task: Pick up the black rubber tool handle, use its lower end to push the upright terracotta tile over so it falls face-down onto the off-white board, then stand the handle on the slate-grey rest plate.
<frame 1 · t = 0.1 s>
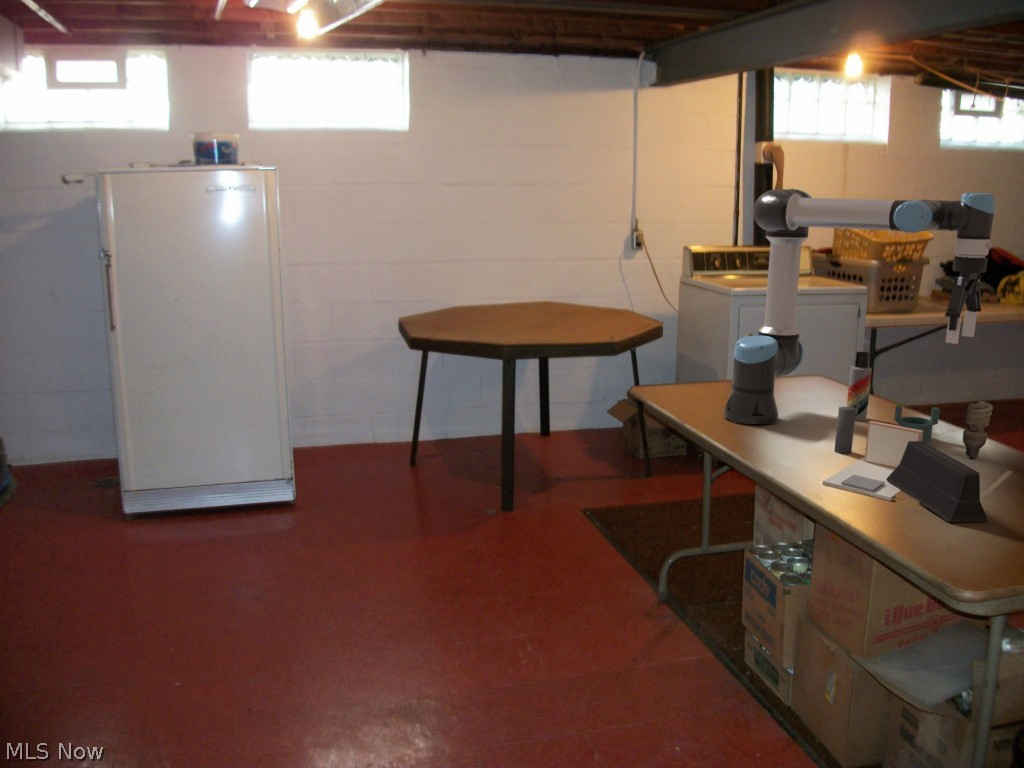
hand: (959, 339, 221), 28 cm above the table, tool pointing down, fingers open, 13 cm apart
tile: (890, 466, 206), point 1 cm above the table, touching board
light bulb: (972, 460, 215), on the table
tool handle: (842, 454, 217), on the table
bracket: (913, 439, 232), on the table
barrier: (933, 500, 186), on the table, touching board
lotion bottle: (855, 419, 251), on the table
board: (877, 478, 200), on the table
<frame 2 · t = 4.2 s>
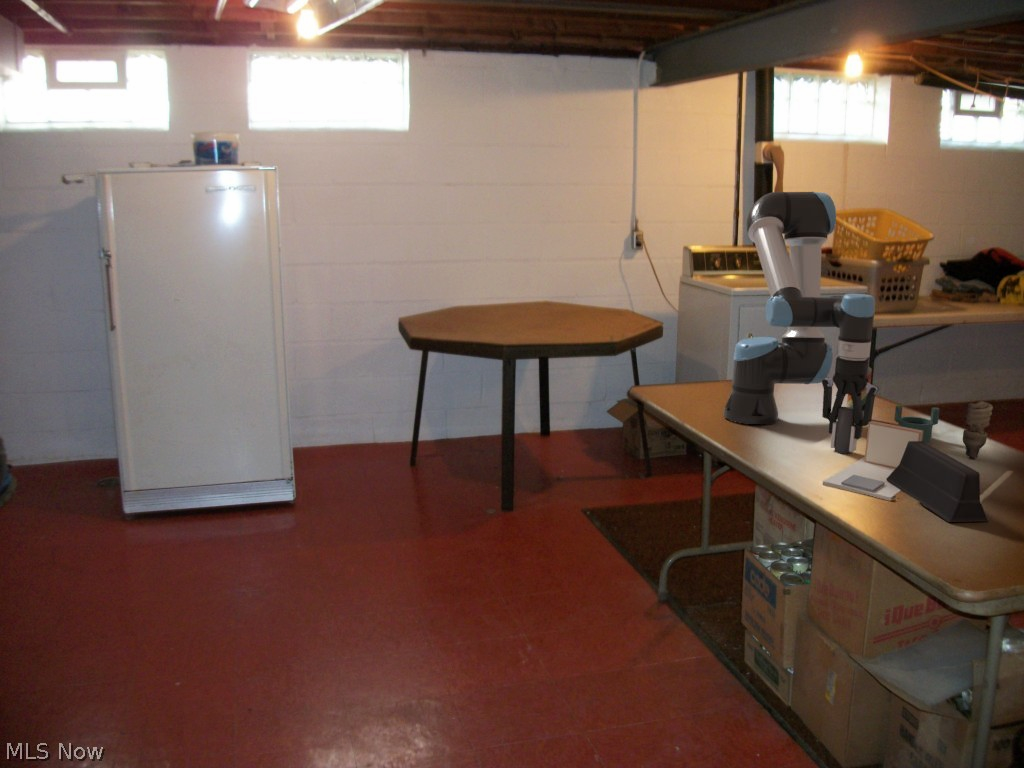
hand: (843, 448, 217), 2 cm above the table, tool pointing down, fingers closed on tool handle, 4 cm apart
tool handle: (842, 454, 217), on the table, touching gripper
everything else where it was.
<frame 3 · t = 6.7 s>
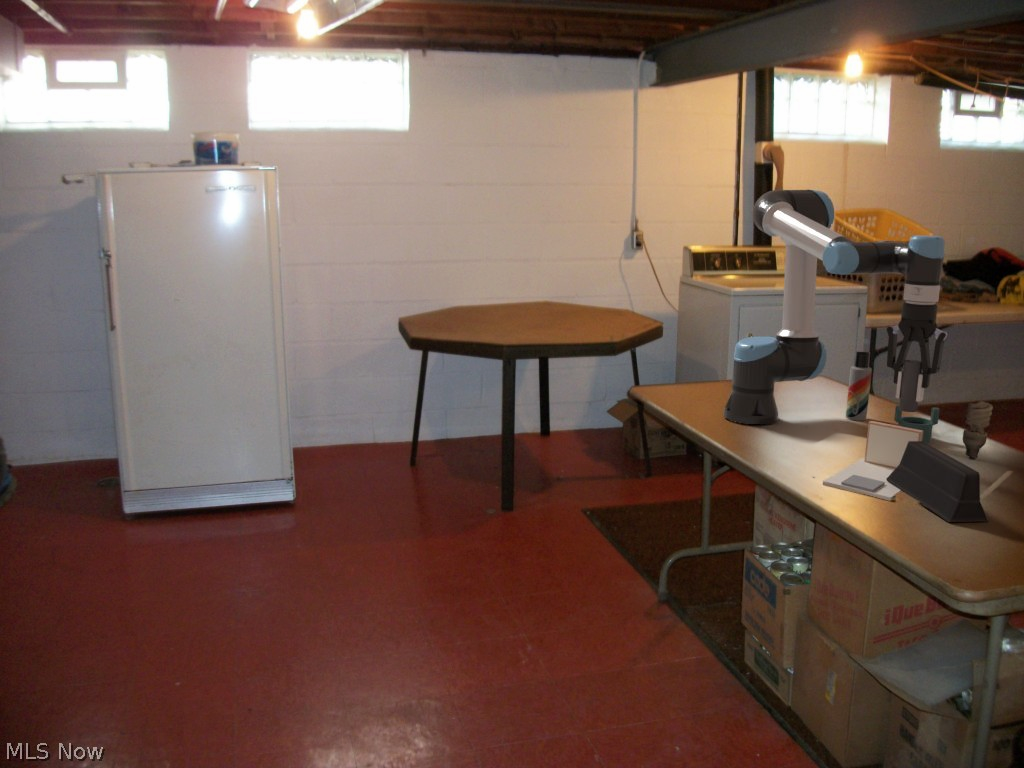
hand: (909, 398, 208), 16 cm above the table, tool pointing down, fingers closed on tool handle, 4 cm apart
tool handle: (907, 410, 208), point 13 cm above the table, touching gripper
everything else where it was.
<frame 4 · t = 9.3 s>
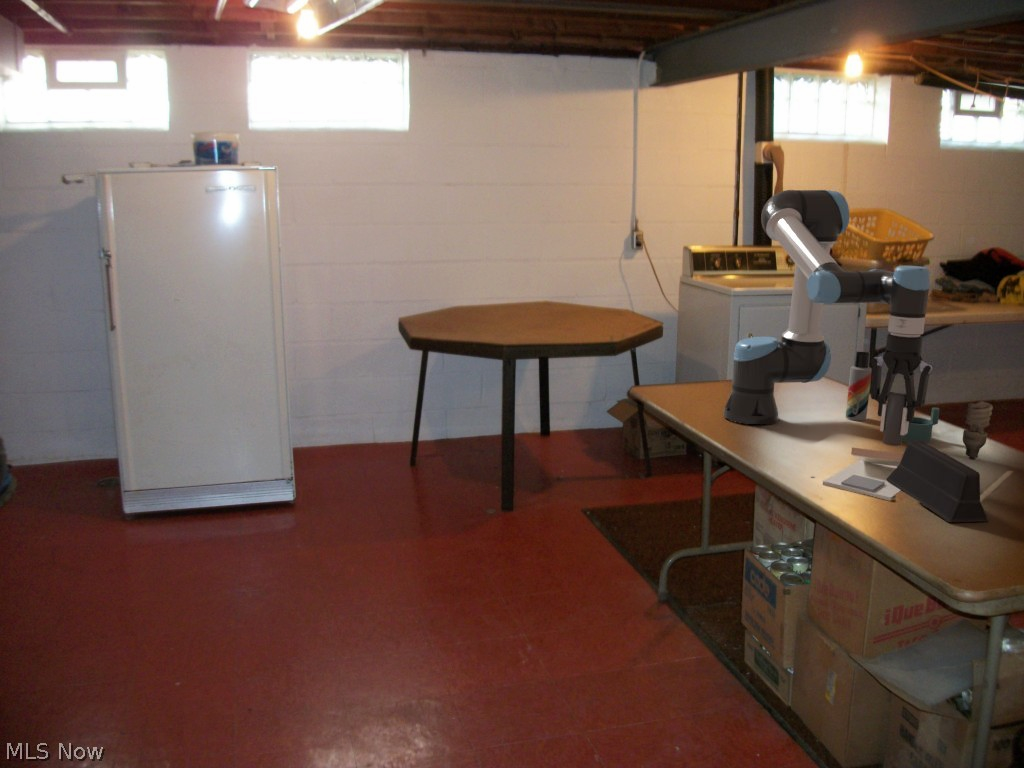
hand: (893, 431, 203), 10 cm above the table, tool pointing down, fingers closed on tool handle, 4 cm apart
tile: (890, 462, 206), point 2 cm above the table, tilted 66°, touching board
tool handle: (892, 443, 204), point 7 cm above the table, touching gripper
everything else where it was.
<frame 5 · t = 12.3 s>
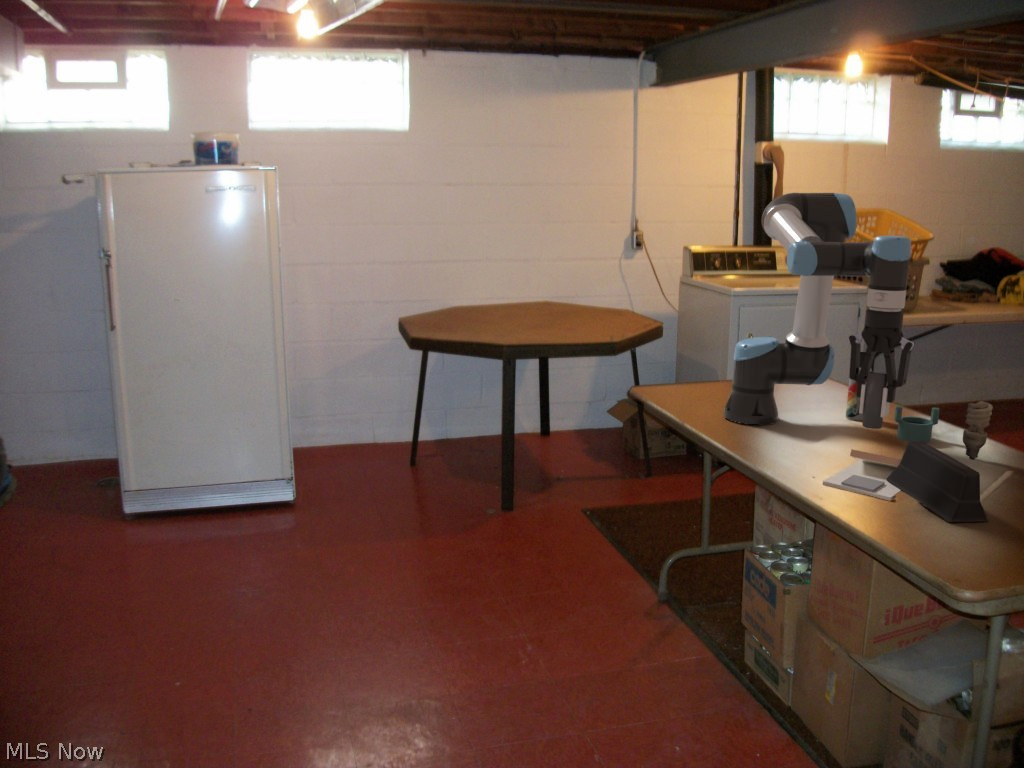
hand: (873, 414, 191), 17 cm above the table, tool pointing down, fingers closed on tool handle, 4 cm apart
tile: (888, 463, 206), point 2 cm above the table, tilted 69°, touching board, barrier
tool handle: (872, 426, 191), point 14 cm above the table, touching gripper
barrier: (934, 500, 186), on the table, touching board, tile
everything else where it was.
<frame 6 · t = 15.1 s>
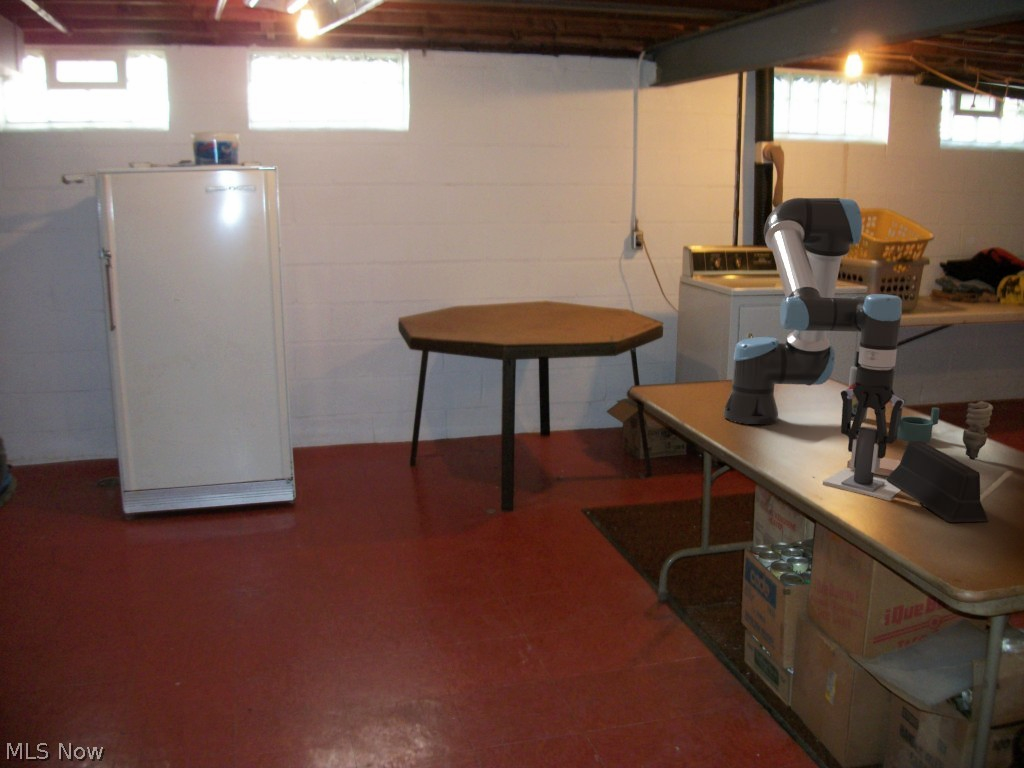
hand: (864, 468, 193), 5 cm above the table, tool pointing down, fingers closed on tool handle, 4 cm apart
tile: (887, 461, 207), point 2 cm above the table, tilted 87°, touching board, barrier
tool handle: (863, 480, 193), point 2 cm above the table, touching gripper
everything else where it was.
when the fingers open (5 cm above the table, at t = 15.3 s): tool handle stays where it is, resting on board.
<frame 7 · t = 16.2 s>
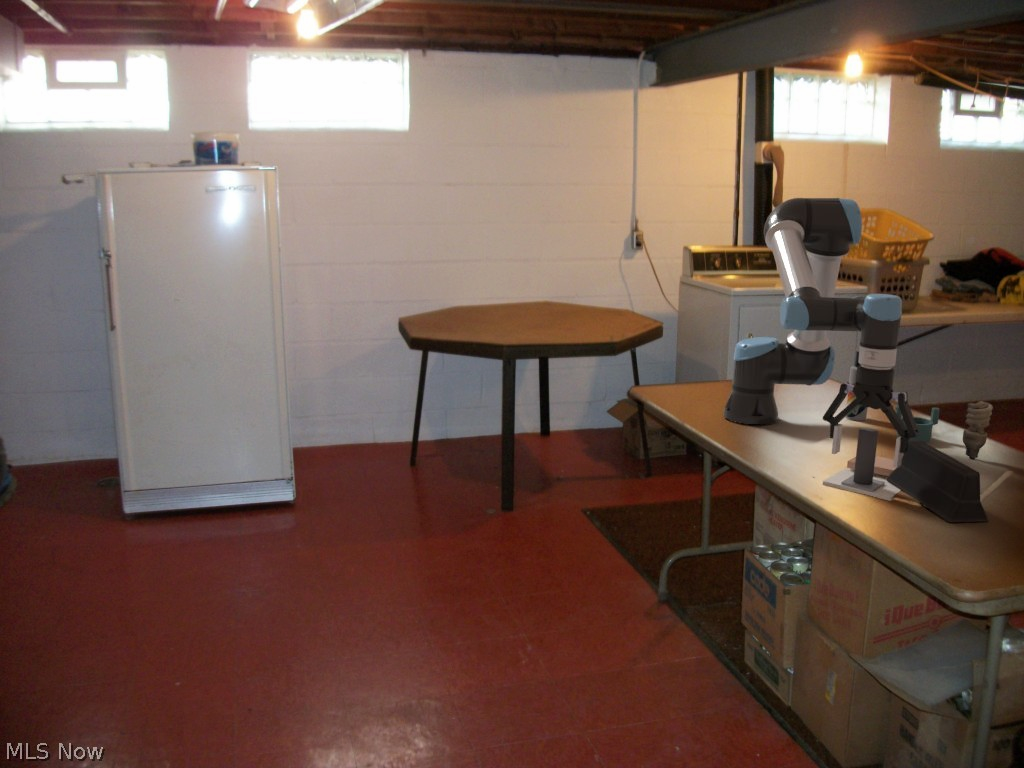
hand: (865, 459, 192), 7 cm above the table, tool pointing down, fingers open, 13 cm apart
tool handle: (862, 481, 194), point 1 cm above the table, touching board
everything else where it was.
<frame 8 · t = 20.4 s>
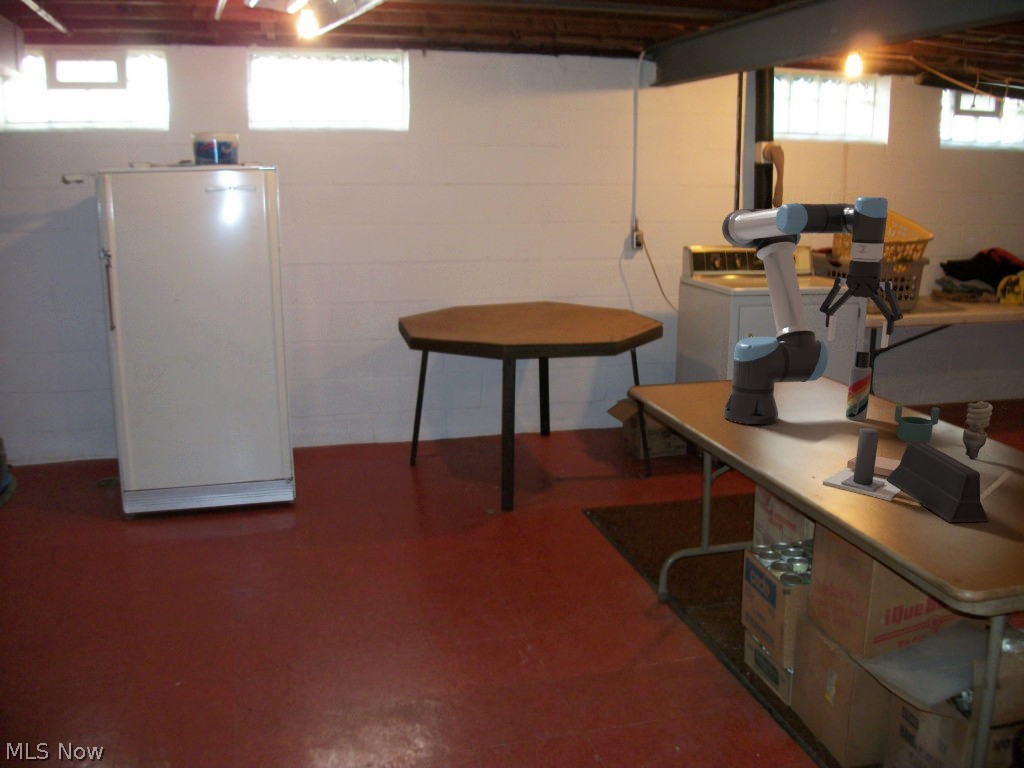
hand: (856, 343, 220), 27 cm above the table, tool pointing down, fingers open, 13 cm apart
nothing on the table moved.
at the end: tile tilted 87°; tool handle inside the target area on the board (0.1 cm from its centre), point 1.4 cm above the board's base; the gripper is holding nothing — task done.
